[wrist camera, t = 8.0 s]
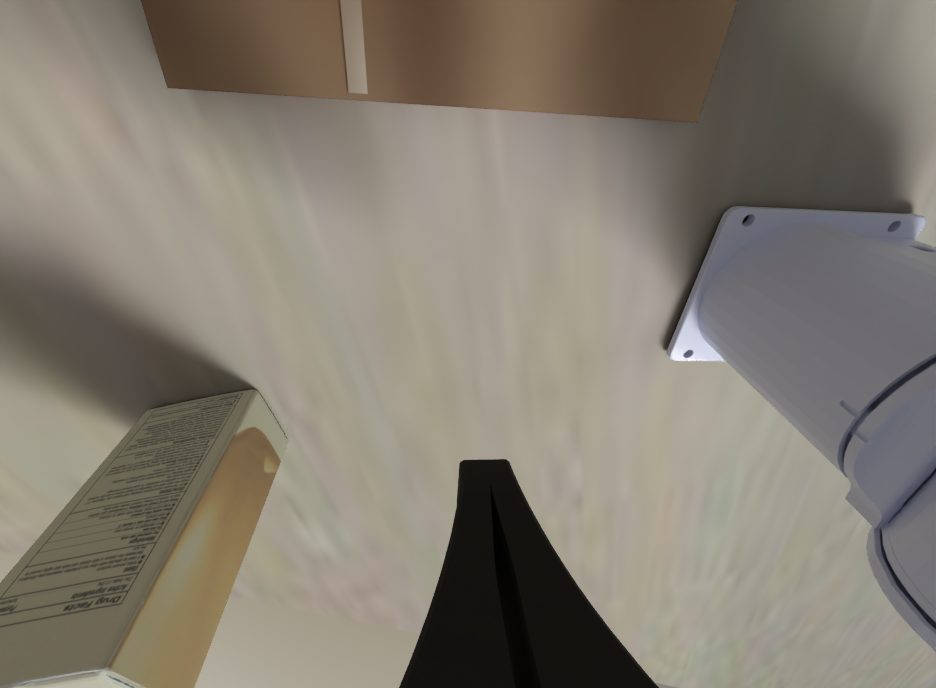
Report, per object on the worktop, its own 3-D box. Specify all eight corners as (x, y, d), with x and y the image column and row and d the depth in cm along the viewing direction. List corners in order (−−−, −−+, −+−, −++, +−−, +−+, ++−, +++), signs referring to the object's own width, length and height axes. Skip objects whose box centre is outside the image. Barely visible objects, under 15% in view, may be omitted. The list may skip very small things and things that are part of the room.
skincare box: (191, 459, 23) (4, 750, 13) (145, 406, 21) (-128, 713, 11) (296, 441, 23) (188, 722, 13) (262, 385, 21) (97, 678, 11)
